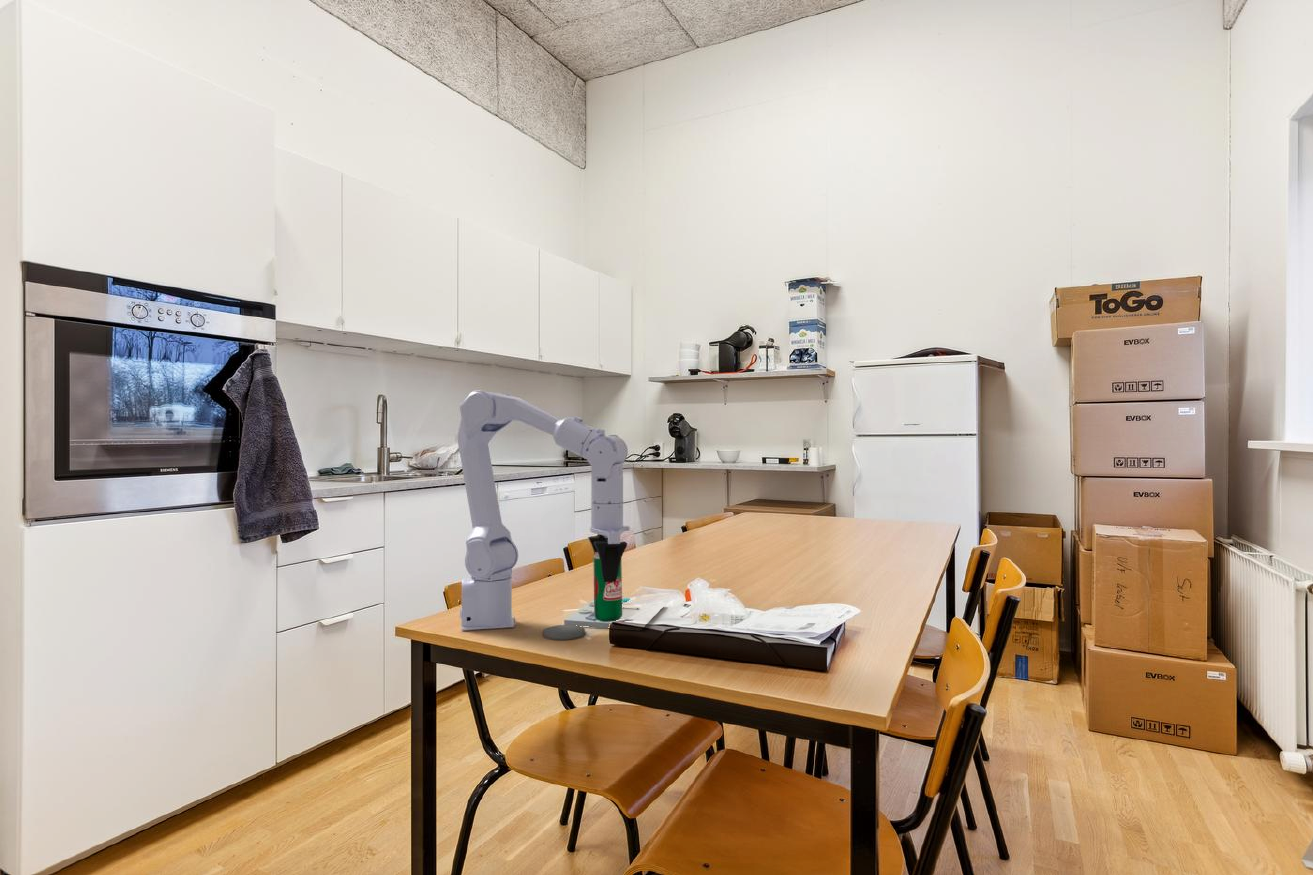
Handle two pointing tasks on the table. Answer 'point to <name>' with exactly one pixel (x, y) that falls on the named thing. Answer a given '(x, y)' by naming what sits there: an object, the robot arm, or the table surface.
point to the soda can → (606, 594)
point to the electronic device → (588, 617)
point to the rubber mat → (563, 632)
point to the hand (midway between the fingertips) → (607, 578)
